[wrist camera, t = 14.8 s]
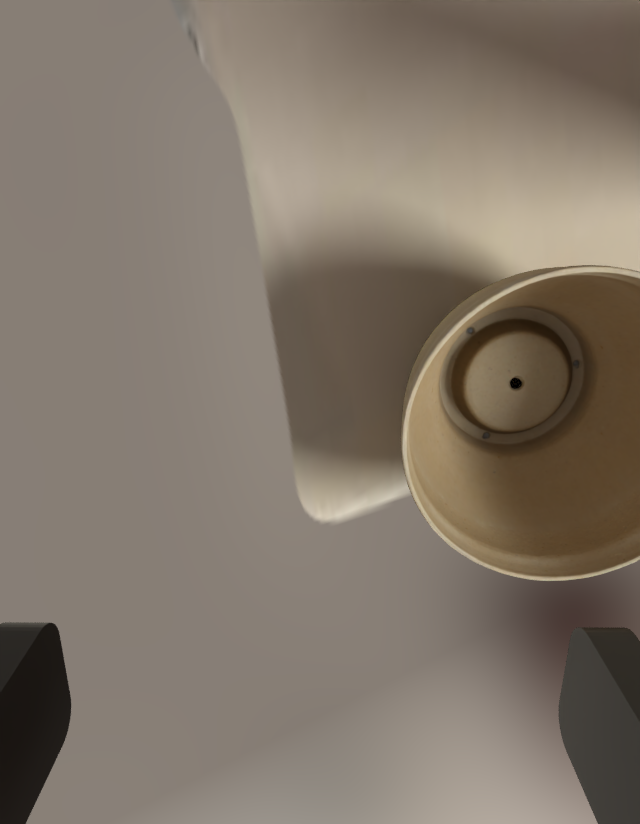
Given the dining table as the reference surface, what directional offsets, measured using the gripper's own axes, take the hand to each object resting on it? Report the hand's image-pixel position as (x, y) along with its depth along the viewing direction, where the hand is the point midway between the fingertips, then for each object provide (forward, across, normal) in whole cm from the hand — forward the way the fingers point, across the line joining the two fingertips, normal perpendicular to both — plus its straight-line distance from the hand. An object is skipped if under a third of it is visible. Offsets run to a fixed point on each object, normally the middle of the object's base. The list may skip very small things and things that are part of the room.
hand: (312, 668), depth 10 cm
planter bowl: (+30, -12, +4) cm, 33 cm away
